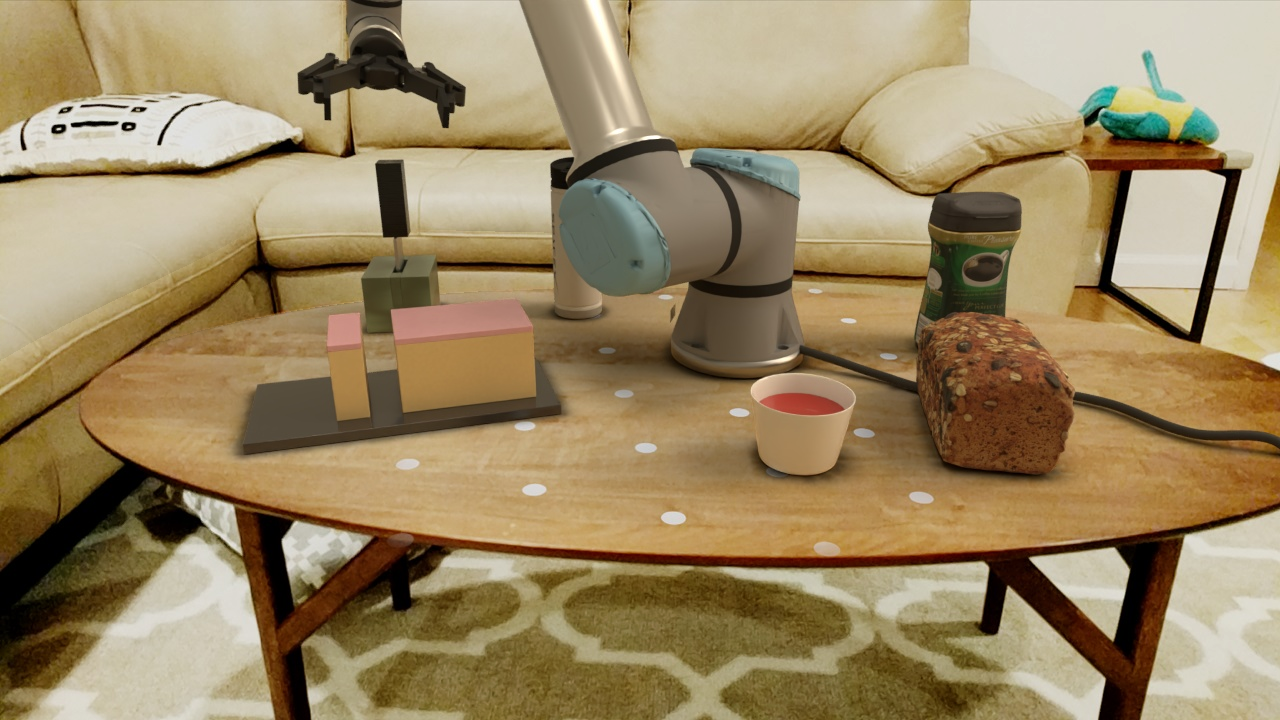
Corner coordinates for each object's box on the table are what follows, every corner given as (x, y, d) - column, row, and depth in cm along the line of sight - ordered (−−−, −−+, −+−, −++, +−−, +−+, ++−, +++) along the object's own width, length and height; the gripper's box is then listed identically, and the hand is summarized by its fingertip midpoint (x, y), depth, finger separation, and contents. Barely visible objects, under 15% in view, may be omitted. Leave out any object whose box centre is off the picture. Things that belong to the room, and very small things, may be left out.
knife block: (440, 304, 117) (436, 254, 114) (433, 330, 107) (428, 276, 105) (379, 307, 116) (373, 256, 113) (367, 332, 106) (360, 278, 104)
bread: (1062, 481, 74) (1085, 373, 70) (932, 470, 75) (948, 364, 72) (1014, 392, 91) (1030, 302, 87) (909, 385, 92) (920, 295, 89)
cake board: (534, 362, 98) (534, 354, 97) (561, 414, 85) (561, 404, 85) (258, 393, 90) (257, 384, 89) (244, 454, 77) (242, 444, 77)
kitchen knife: (419, 312, 114) (404, 158, 106) (415, 323, 110) (399, 164, 102) (396, 313, 113) (379, 158, 106) (391, 324, 109) (373, 164, 102)
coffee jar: (979, 336, 106) (1003, 184, 99) (1011, 360, 99) (1040, 198, 92) (903, 338, 105) (922, 186, 98) (929, 363, 98) (952, 200, 91)
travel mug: (608, 305, 117) (606, 155, 109) (594, 321, 111) (592, 163, 103) (563, 302, 118) (559, 153, 110) (548, 317, 112) (542, 161, 104)
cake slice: (368, 381, 90) (359, 312, 87) (370, 417, 82) (360, 342, 79) (338, 384, 89) (328, 314, 87) (337, 421, 81) (326, 346, 79)
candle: (812, 495, 71) (819, 426, 69) (726, 458, 77) (729, 394, 75) (867, 457, 77) (875, 392, 75) (784, 426, 83) (788, 365, 81)
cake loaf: (520, 364, 95) (517, 298, 92) (536, 397, 87) (533, 325, 84) (398, 377, 91) (390, 309, 88) (402, 413, 83) (394, 339, 80)
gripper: (467, 88, 125) (490, 149, 109) (281, 73, 117) (276, 136, 101) (471, 36, 121) (495, 91, 105) (278, 16, 113) (272, 73, 97)
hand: (388, 113), depth 103 cm, fingers open, 13 cm apart
